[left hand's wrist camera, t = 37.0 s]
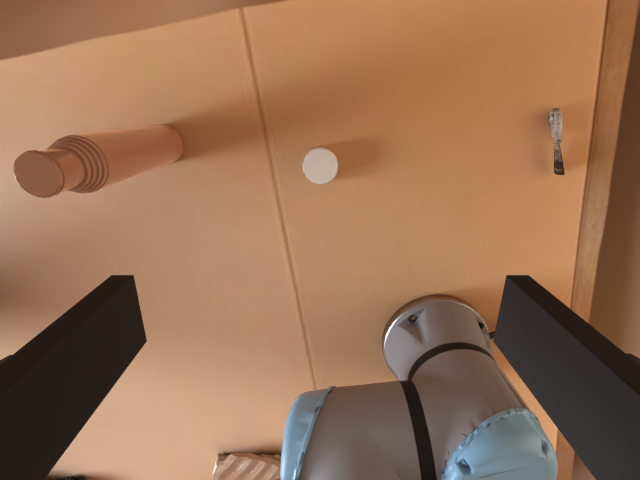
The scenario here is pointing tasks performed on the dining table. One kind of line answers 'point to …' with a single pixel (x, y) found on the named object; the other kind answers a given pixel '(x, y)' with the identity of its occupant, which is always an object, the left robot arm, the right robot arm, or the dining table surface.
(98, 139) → the bottle
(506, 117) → the dining table surface
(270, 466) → the stone
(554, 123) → the putty knife
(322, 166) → the cap
